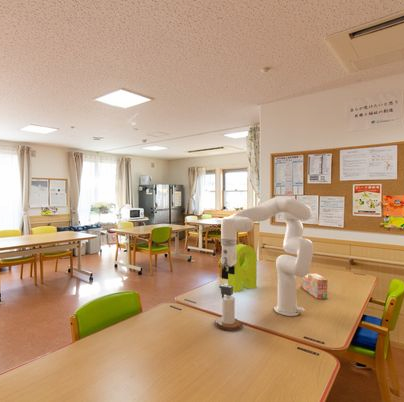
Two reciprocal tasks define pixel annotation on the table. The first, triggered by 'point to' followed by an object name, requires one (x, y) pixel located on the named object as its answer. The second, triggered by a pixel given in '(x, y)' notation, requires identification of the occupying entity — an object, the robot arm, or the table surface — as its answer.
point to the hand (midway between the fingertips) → (228, 276)
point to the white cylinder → (228, 308)
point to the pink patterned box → (315, 285)
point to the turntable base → (228, 328)
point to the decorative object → (244, 269)
